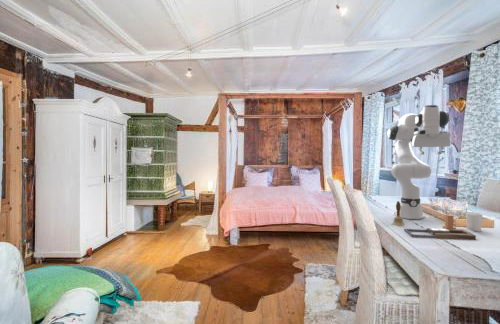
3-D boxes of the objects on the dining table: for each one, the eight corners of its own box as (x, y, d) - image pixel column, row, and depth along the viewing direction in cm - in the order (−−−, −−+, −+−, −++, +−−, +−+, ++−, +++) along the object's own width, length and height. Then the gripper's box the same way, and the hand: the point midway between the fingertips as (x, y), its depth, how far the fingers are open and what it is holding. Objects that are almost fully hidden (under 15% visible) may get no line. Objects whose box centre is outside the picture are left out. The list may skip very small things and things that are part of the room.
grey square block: (429, 233, 162) (429, 228, 162) (437, 233, 161) (437, 228, 161) (432, 235, 158) (433, 230, 158) (440, 235, 157) (441, 230, 157)
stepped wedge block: (442, 230, 172) (442, 214, 171) (451, 230, 171) (451, 214, 171) (446, 232, 167) (446, 215, 167) (456, 233, 166) (456, 216, 166)
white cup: (480, 232, 166) (480, 215, 166) (463, 229, 172) (464, 213, 172) (483, 230, 171) (483, 213, 171) (467, 227, 177) (467, 211, 177)
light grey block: (438, 233, 161) (438, 228, 161) (446, 234, 160) (446, 228, 160) (441, 235, 157) (441, 230, 157) (449, 236, 156) (449, 230, 156)
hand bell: (406, 228, 178) (406, 202, 178) (392, 227, 181) (392, 202, 180) (404, 224, 186) (404, 200, 185) (390, 223, 189) (390, 200, 188)
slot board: (425, 233, 167) (425, 227, 167) (462, 234, 163) (462, 228, 163) (436, 240, 153) (436, 234, 153) (476, 242, 150) (476, 236, 149)
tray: (404, 232, 168) (404, 228, 168) (426, 233, 166) (426, 229, 166) (411, 239, 156) (411, 234, 156) (436, 240, 154) (436, 235, 154)
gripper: (447, 131, 174) (447, 154, 175) (411, 132, 178) (410, 154, 179) (452, 130, 168) (452, 154, 169) (414, 131, 172) (414, 154, 172)
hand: (430, 154), depth 174 cm, fingers open, 8 cm apart
